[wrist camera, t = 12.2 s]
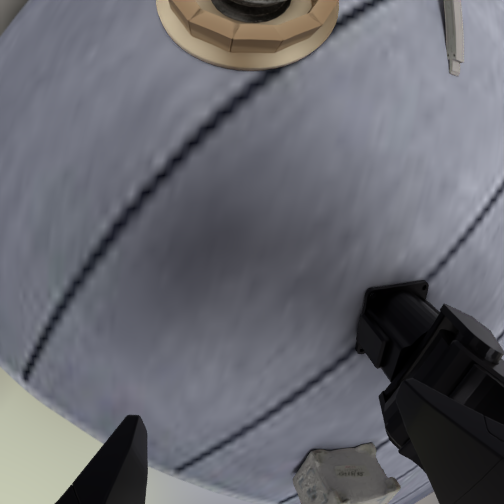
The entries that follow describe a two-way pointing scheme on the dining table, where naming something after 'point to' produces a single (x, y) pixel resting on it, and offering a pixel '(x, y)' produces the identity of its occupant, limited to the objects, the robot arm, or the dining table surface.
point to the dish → (248, 33)
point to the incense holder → (344, 478)
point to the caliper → (454, 35)
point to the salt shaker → (252, 9)
